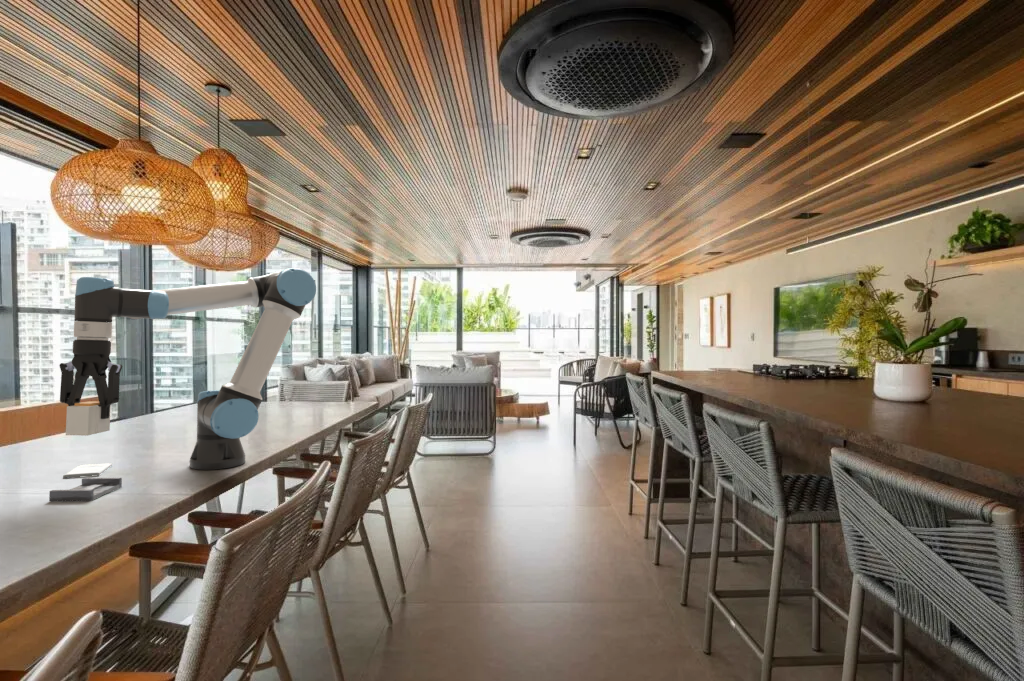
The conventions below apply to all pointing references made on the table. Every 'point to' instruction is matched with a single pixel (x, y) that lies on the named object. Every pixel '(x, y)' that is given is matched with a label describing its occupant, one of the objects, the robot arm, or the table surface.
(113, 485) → the dark grey tray
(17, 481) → the table surface
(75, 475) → the external hard drive
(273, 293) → the robot arm
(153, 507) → the table surface
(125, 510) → the table surface
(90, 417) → the block
